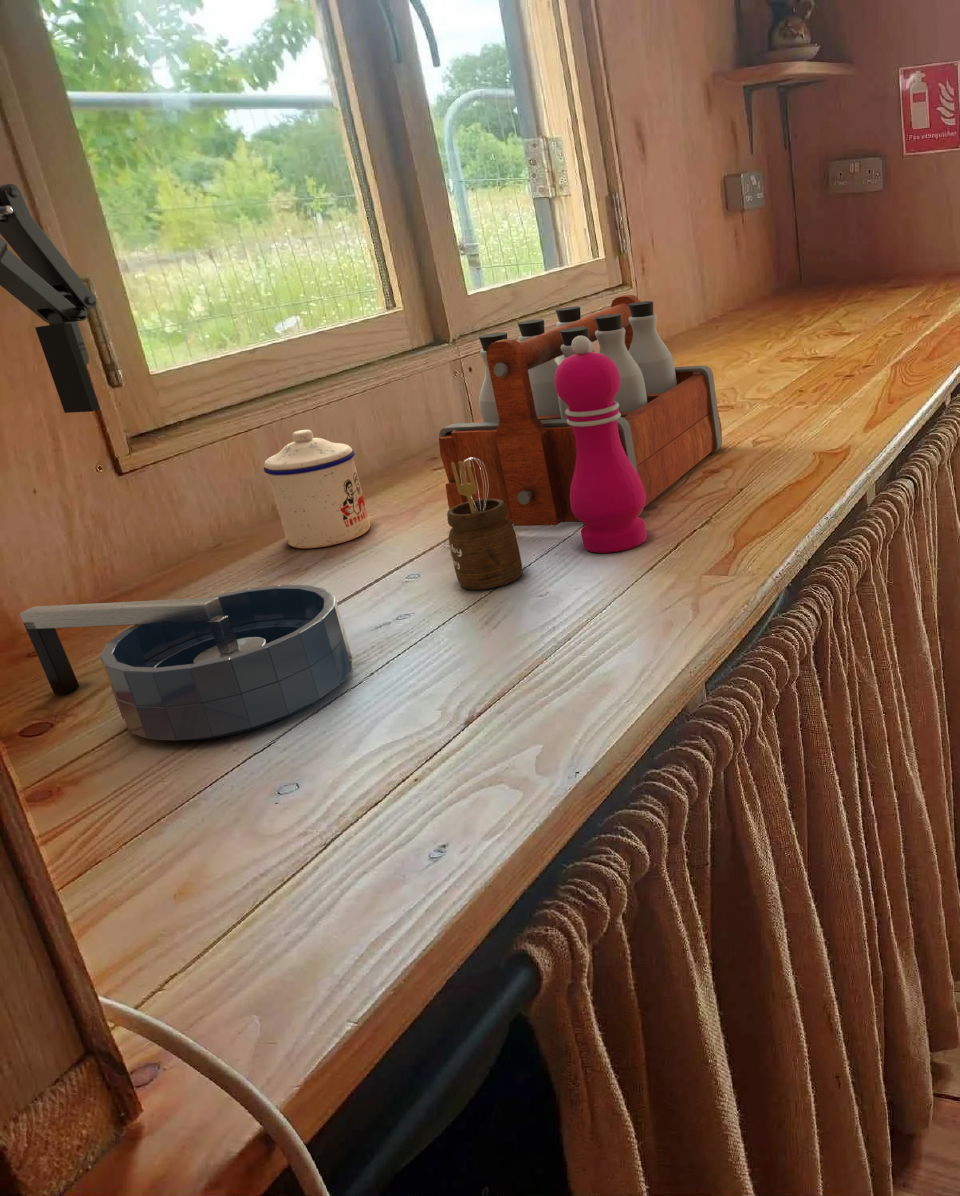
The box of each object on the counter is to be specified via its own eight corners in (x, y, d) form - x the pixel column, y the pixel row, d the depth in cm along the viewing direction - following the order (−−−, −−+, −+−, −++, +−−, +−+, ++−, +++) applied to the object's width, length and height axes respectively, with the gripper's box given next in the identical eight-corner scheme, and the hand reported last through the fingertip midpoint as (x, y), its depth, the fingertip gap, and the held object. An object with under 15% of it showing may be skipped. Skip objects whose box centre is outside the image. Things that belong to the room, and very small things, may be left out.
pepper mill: (630, 556, 105) (594, 341, 98) (564, 554, 108) (524, 345, 101) (664, 530, 112) (633, 327, 104) (601, 529, 114) (566, 330, 107)
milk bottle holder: (439, 535, 118) (396, 351, 111) (581, 447, 149) (555, 299, 142) (624, 533, 112) (591, 338, 105) (732, 442, 143) (712, 287, 136)
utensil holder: (525, 564, 106) (500, 440, 102) (521, 586, 101) (494, 456, 96) (462, 573, 106) (433, 449, 101) (454, 596, 100) (424, 466, 95)
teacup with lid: (367, 541, 119) (339, 433, 115) (277, 555, 117) (245, 447, 113) (381, 510, 130) (356, 411, 126) (299, 523, 128) (271, 423, 124)
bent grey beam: (292, 671, 85) (263, 586, 83) (246, 702, 81) (213, 612, 78) (87, 676, 91) (54, 597, 89) (33, 705, 87) (-3, 622, 84)
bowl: (77, 745, 79) (48, 668, 77) (234, 651, 93) (213, 584, 91) (259, 756, 75) (233, 675, 73) (395, 655, 89) (377, 585, 86)
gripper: (-295, 104, 60) (-134, 483, 68) (88, 106, 82) (177, 392, 90) (-387, 120, 63) (-220, 486, 70) (11, 117, 85) (104, 396, 92)
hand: (3, 434), depth 80 cm, fingers open, 13 cm apart
